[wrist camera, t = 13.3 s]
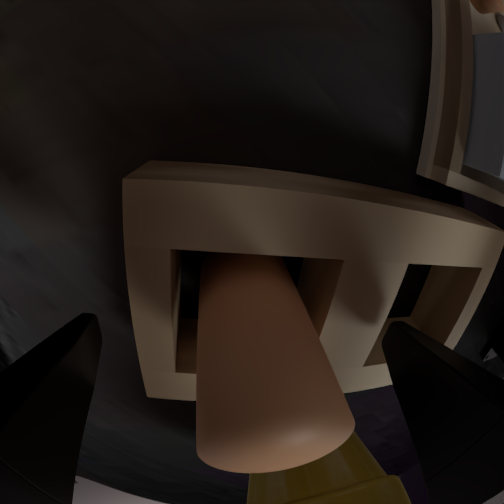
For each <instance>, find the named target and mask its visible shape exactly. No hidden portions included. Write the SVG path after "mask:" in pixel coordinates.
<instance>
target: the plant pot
mask: <svg viewBox="0 0 504 504" xmlns="http://www.w3.org/2000/svg"><path fill="white" fill-rule="evenodd" d="M247 504H411V502H410V500H409V498H408V495H407V493H406V491H405V489H404V487H403V485H402V483H401V481H400V479H399V477H398V476H395V475H389V476H387V474H386V473H385V472H384V470H383V469H382V468H381V466H380V465H379V464H378V462H377V461H376V460H375V458H374V457H373V456H372V454H371V453H370V452H369V450H368V449H367V448H366V446H365V445H364V444H363V442H362V441H361V440H360V438H359V437H358V436H357V434H356V433H355V432H354V430H353V432H352V434H351V435H350V437H349V438H348V439H347V440H346V441H345V442H344V443H343V444H342V445H340V446H339V447H338V448H336V449H335V450H333V451H332V452H330V453H328V454H327V455H325V456H323V457H321V458H319V459H316V460H314V461H312V462H309V463H306V464H303V465H300V466H297V467H293V468H290V469H285V470H280V471H274V472H265V473H250V476H249V486H248V496H247Z"/></svg>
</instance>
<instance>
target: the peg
mask: <svg viewBox="0 0 504 504" xmlns="http://www.w3.org/2000/svg"><path fill="white" fill-rule="evenodd" d="M354 427H355V420H354V418H353V415H352V413H351V411H350V408H349V406H348V404H347V401H346V399H345V396H344V394H343V392H342V389H341V387H340V385H339V382H338V380H337V378H336V376H335V373H334V371H333V369H332V366H331V364H330V362H329V360H328V357H327V355H326V353H325V350H324V348H323V346H322V344H321V341H320V339H319V337H318V335H317V332H316V330H315V328H314V326H313V324H312V321H311V319H310V317H309V315H308V313H307V310H306V308H305V306H304V304H303V302H302V299H301V297H300V295H299V293H298V291H297V289H296V286H295V284H294V282H293V280H292V278H291V276H290V273H289V271H288V269H287V267H286V265H285V263H284V261H283V259H282V256H275V255H258V254H242V253H226V252H210V251H209V252H208V253H207V254H206V256H205V258H204V260H203V262H202V266H201V274H200V290H199V309H198V333H197V367H196V445H197V454H198V456H199V458H200V459H201V460H202V461H203V462H205V463H206V464H208V465H210V466H212V467H215V468H218V469H221V470H225V471H230V472H238V473H265V472H274V471H280V470H285V469H290V468H293V467H297V466H300V465H303V464H306V463H309V462H312V461H314V460H316V459H319V458H321V457H323V456H325V455H327V454H328V453H330V452H332V451H333V450H335V449H336V448H338V447H339V446H340V445H342V444H343V443H344V442H345V441H346V440H347V439H348V438H349V437H350V435H351V434H352V432H353V430H354Z"/></svg>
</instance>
